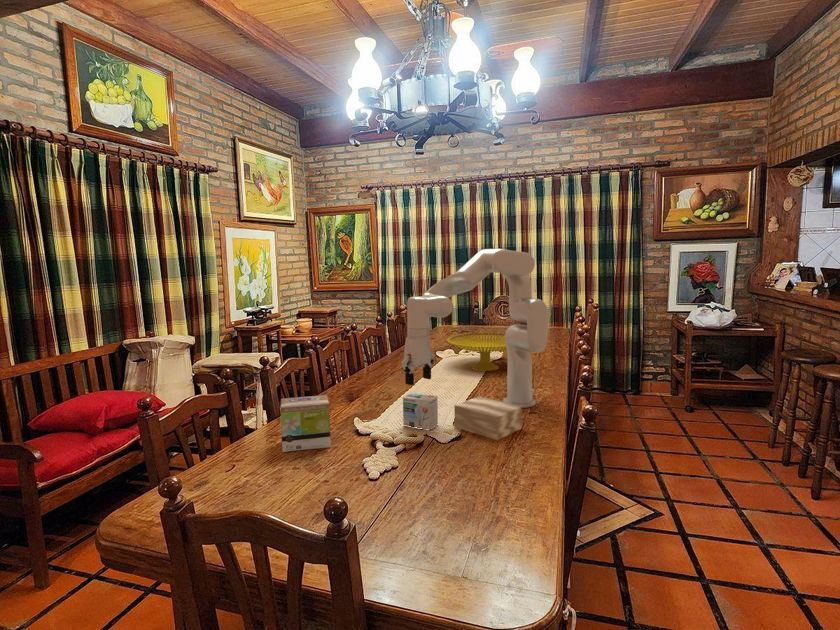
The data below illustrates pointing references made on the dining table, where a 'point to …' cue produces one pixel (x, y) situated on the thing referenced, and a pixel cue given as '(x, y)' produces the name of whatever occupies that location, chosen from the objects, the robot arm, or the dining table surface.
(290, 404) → the tea box
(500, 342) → the cake stand
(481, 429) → the birch block
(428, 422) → the light bulb box
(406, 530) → the dining table surface
